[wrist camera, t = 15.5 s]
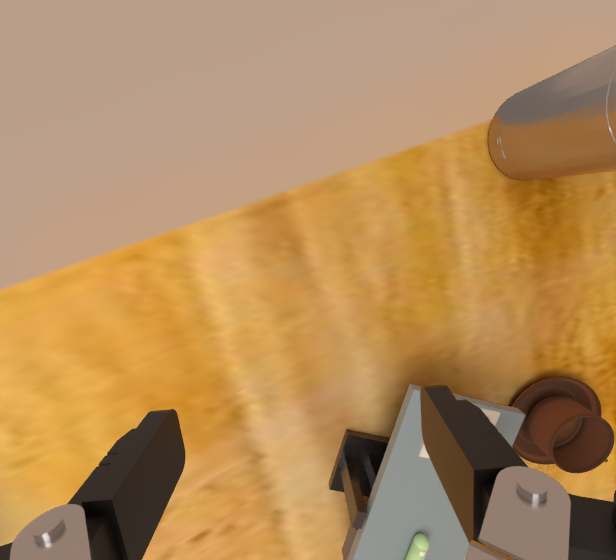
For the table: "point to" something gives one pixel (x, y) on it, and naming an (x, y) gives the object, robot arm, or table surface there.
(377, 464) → the pivot stand
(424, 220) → the table surface
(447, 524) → the platform
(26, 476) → the table surface
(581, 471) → the cup and saucer
